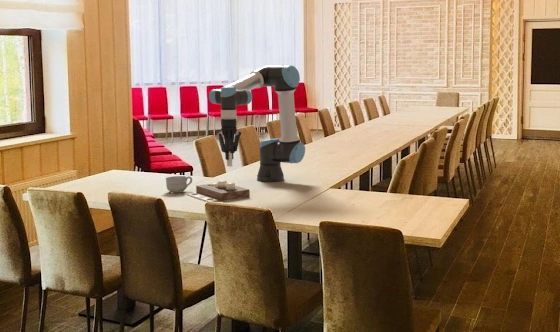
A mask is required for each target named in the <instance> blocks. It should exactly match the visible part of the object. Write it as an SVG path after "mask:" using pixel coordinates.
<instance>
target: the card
mask: <svg viewBox="0 0 560 332" xmlns="http://www.w3.org/2000/svg"><path fill="white" fill-rule="evenodd" d="M187 196H189V197H192V198H194V199H198V200H201V201H203V202H206V201H214V202H218V201H219V200H217V199H214V198H211V197H208V196H204V195H201V194H198V193H196V192H195V193H187Z"/></svg>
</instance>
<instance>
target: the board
mask: <svg viewBox="0 0 560 332" xmlns="http://www.w3.org/2000/svg"><path fill="white" fill-rule="evenodd" d="M195 187H196V188H195V189H196V190H195V191H196V192H195V193H198V194H201V195H204V196H208V197H211V198H214V199H217V200H218V201H219V202H226V201H234V200H240V199H247V198H250V197H251V196H250V195H251V194H250V192H251V191H250V189H249V188H245V187H241V186H237V185H235V190H226V187H225V188H218V186H215V187H211V186H210V183H206V184H199V185H196V186H195Z"/></svg>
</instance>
